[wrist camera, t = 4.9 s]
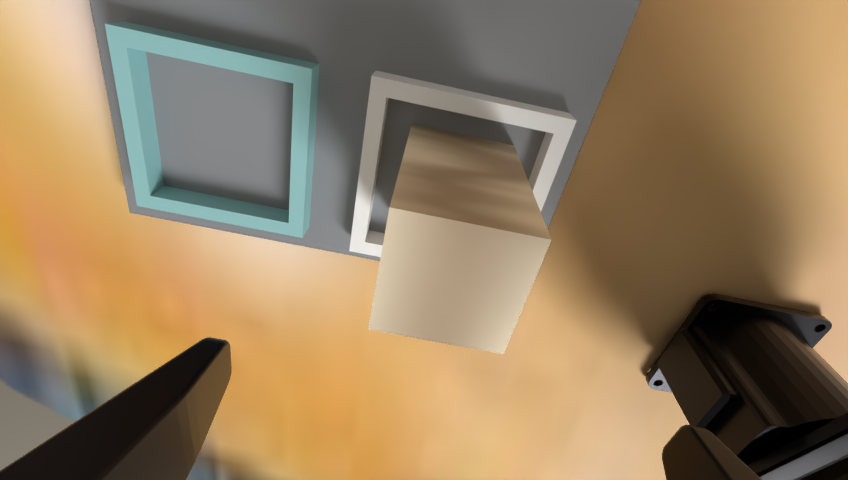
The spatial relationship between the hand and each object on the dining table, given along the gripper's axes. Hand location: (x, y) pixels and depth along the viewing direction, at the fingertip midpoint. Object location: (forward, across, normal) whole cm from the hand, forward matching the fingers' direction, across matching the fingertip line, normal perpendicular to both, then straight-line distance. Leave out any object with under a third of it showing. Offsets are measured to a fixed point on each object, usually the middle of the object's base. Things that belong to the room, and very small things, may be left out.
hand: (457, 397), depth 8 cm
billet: (+10, 0, 0) cm, 10 cm away
